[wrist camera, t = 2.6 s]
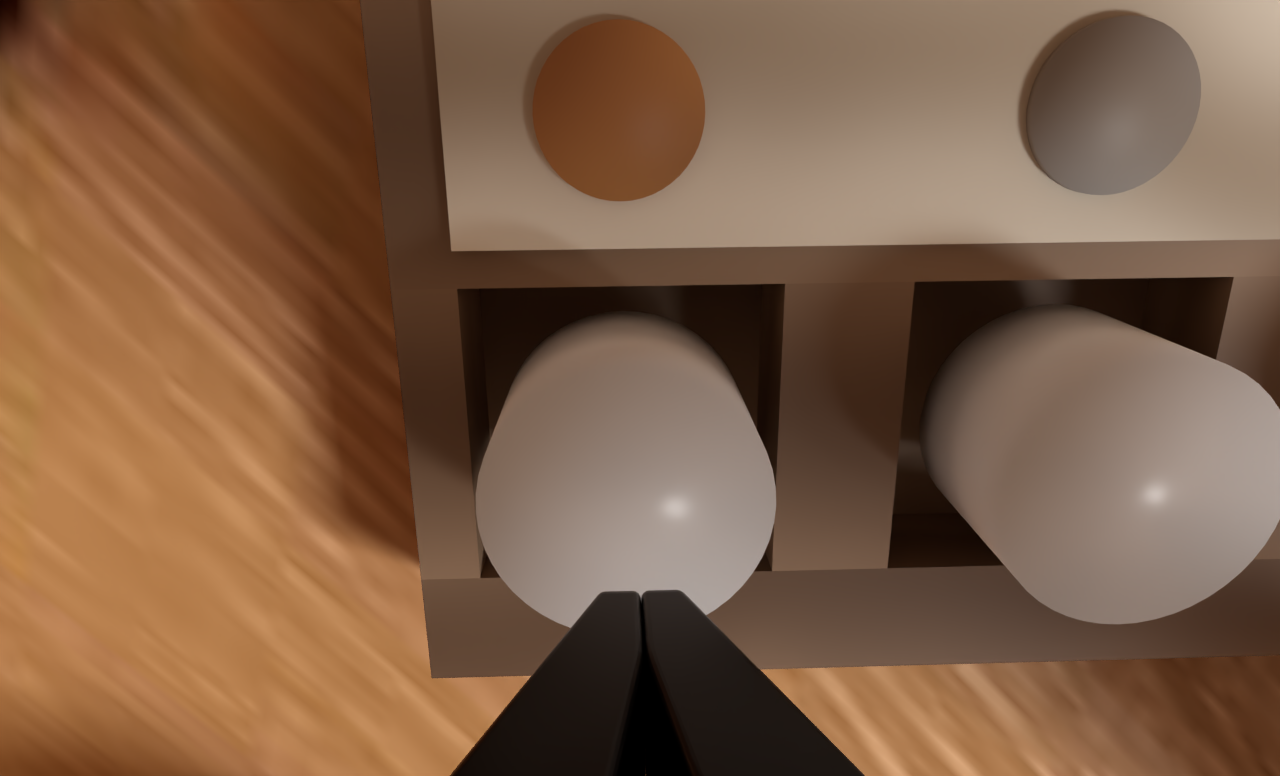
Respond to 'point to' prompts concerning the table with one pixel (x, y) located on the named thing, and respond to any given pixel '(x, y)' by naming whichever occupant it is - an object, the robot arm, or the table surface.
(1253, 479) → the button middle
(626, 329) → the button
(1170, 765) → the table surface
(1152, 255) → the button board
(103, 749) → the table surface
